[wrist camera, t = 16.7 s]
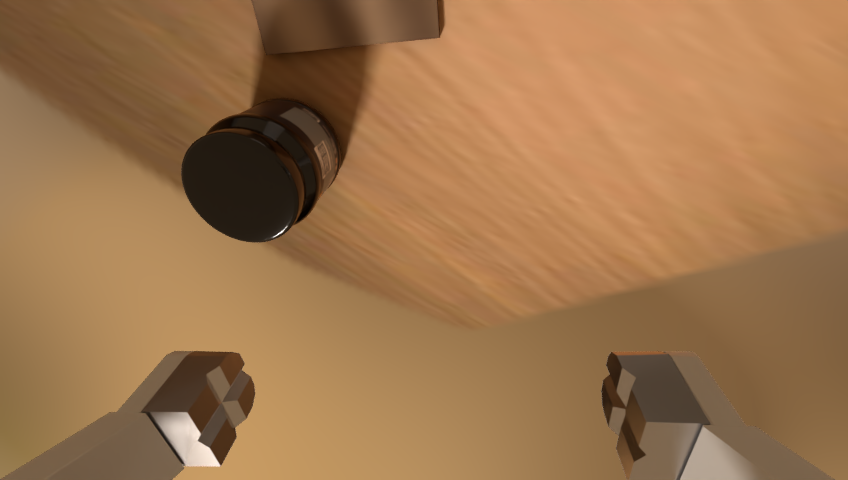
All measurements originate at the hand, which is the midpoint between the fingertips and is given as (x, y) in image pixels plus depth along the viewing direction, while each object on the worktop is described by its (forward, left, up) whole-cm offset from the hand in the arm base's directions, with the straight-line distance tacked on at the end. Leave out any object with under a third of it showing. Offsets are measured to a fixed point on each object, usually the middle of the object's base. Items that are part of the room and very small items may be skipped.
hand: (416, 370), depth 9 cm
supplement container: (+17, +4, -33) cm, 38 cm away
